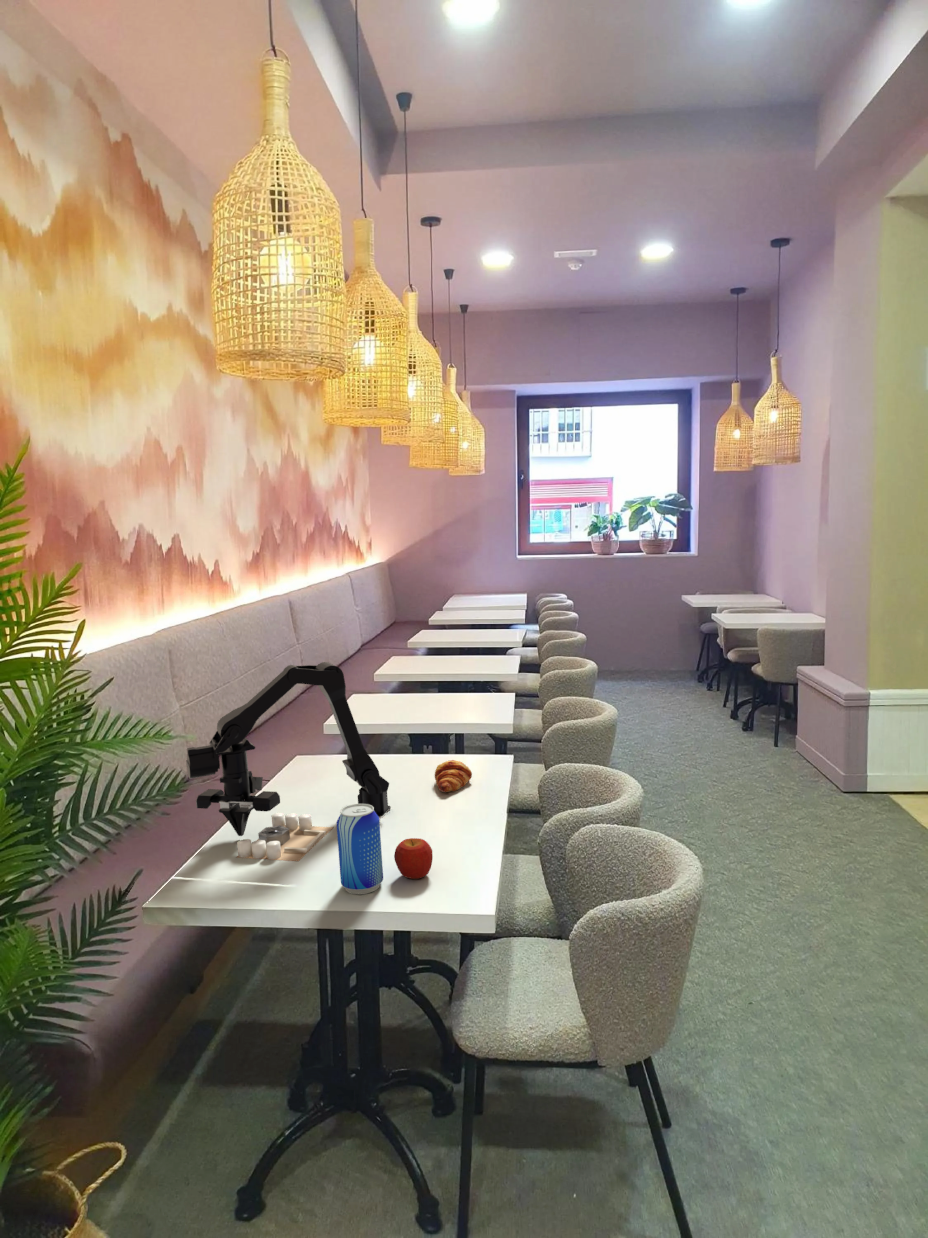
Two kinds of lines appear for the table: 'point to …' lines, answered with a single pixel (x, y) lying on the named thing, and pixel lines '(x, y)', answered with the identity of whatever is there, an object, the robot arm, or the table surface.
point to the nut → (275, 834)
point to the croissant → (452, 775)
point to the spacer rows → (273, 847)
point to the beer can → (359, 849)
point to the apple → (413, 858)
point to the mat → (299, 843)
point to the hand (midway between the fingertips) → (241, 835)
